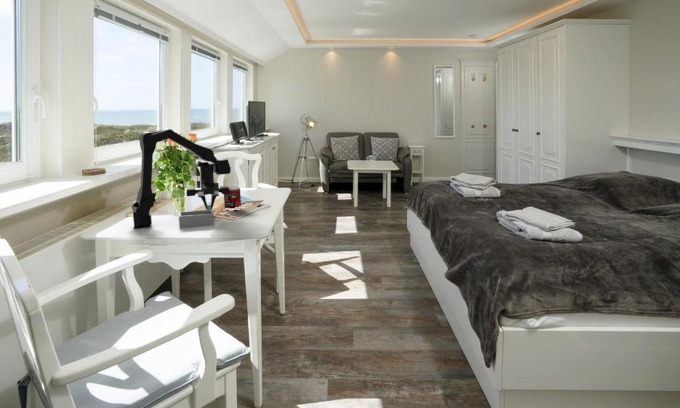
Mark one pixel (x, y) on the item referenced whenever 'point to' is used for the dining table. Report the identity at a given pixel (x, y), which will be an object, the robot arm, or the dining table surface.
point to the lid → (209, 207)
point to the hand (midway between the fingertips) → (209, 209)
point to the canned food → (232, 198)
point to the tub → (196, 218)
